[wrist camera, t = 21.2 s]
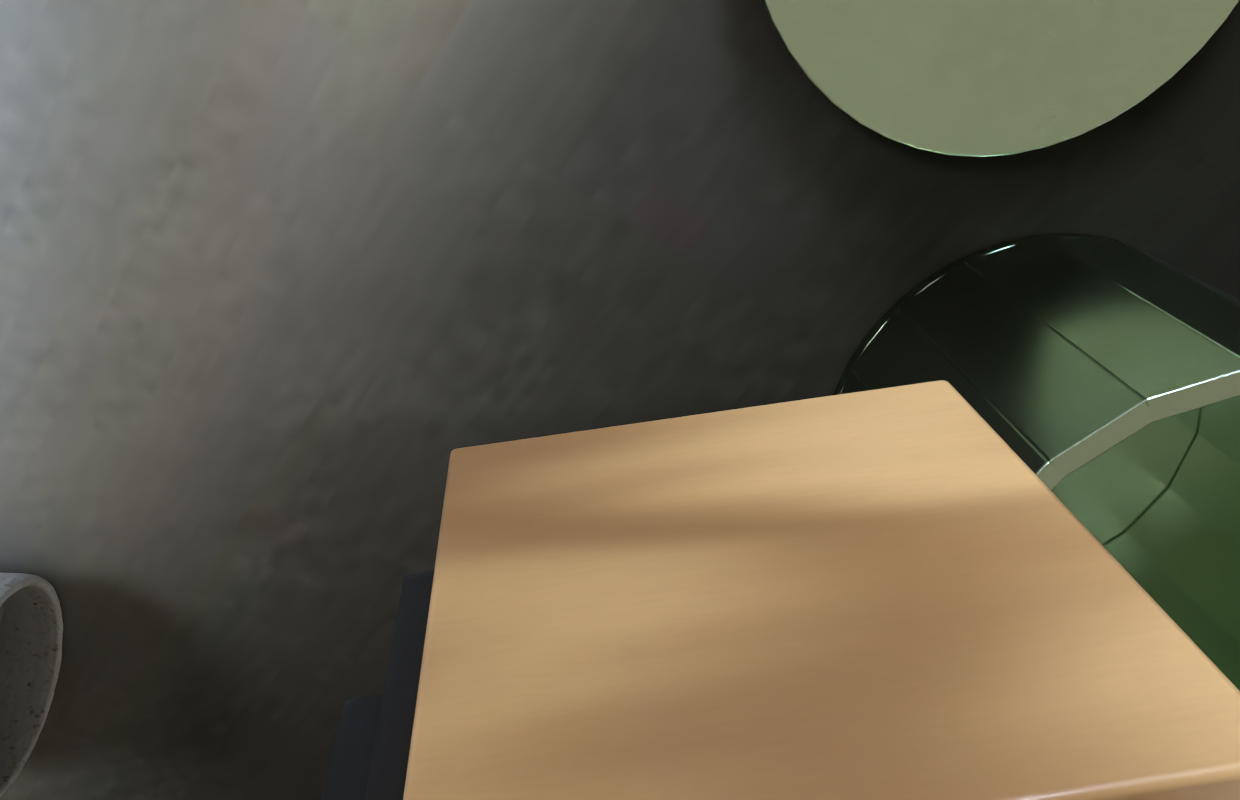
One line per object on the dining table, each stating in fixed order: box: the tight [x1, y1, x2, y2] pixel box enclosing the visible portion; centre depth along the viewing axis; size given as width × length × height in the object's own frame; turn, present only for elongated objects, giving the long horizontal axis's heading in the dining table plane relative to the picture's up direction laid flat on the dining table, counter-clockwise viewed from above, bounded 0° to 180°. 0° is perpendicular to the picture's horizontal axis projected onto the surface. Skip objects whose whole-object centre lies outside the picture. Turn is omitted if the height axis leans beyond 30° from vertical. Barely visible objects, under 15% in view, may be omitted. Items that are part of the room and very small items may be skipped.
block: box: [403, 380, 1240, 800], centre depth 9 cm, size 6×6×6 cm
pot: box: [835, 234, 1240, 691], centre depth 31 cm, size 15×15×11 cm
